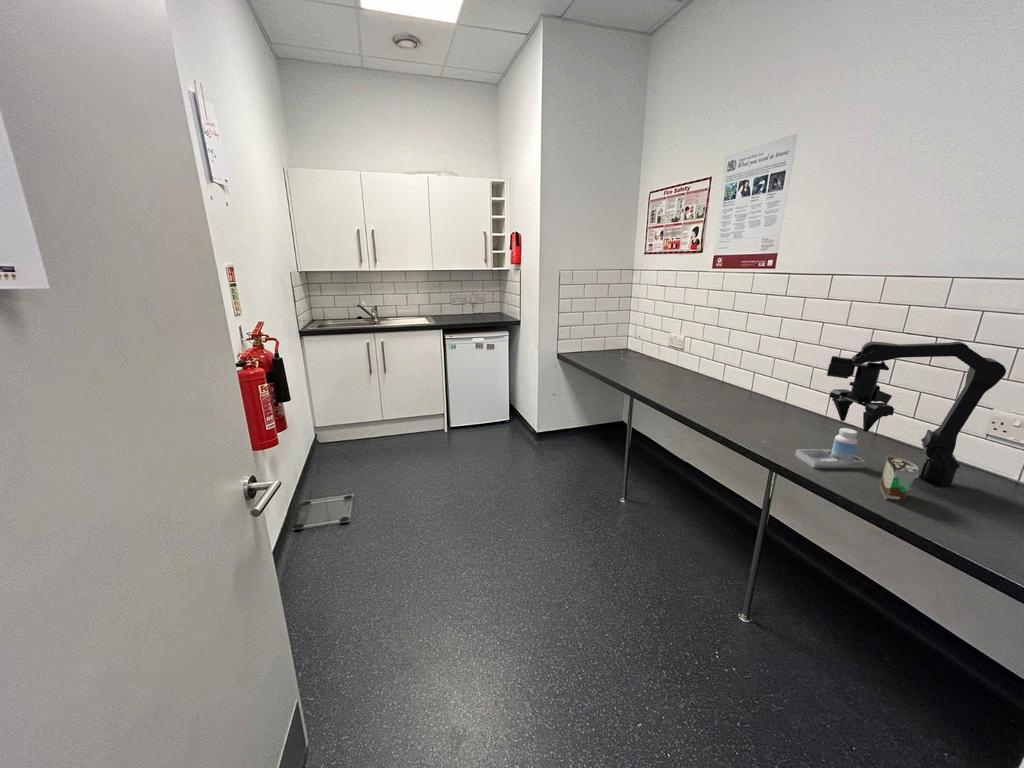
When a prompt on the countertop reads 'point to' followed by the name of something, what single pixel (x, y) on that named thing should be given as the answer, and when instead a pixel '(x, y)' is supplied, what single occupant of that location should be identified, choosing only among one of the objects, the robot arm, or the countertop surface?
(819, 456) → the grey tray
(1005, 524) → the countertop surface
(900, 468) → the food container
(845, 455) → the pill bottle
